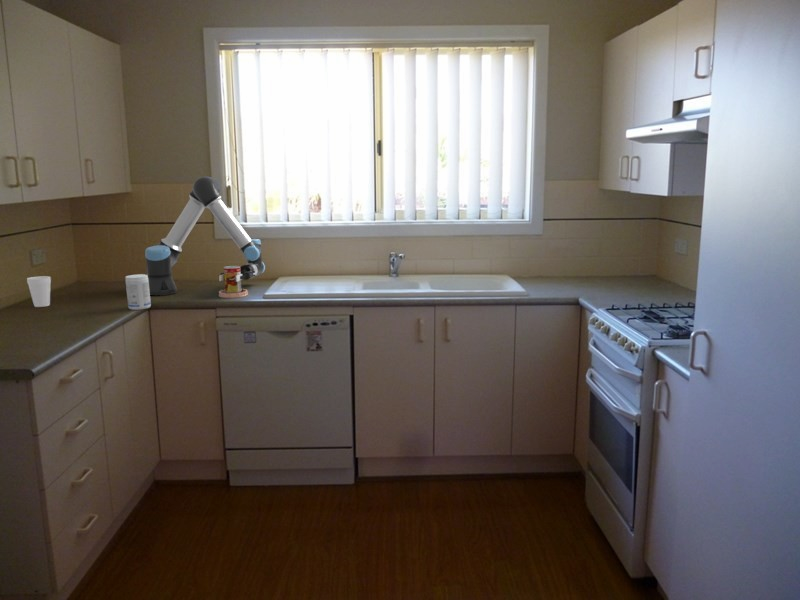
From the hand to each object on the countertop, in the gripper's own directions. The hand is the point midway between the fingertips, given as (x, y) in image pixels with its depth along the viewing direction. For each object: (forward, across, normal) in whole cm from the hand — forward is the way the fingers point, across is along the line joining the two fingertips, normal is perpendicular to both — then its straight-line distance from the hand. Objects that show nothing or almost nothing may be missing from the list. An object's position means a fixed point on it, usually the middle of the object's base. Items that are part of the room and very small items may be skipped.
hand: (228, 278), depth 316 cm
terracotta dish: (-5, 0, -9) cm, 10 cm away
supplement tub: (+30, +29, -9) cm, 43 cm away
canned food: (-5, 0, -7) cm, 9 cm away
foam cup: (+31, +78, -9) cm, 85 cm away
